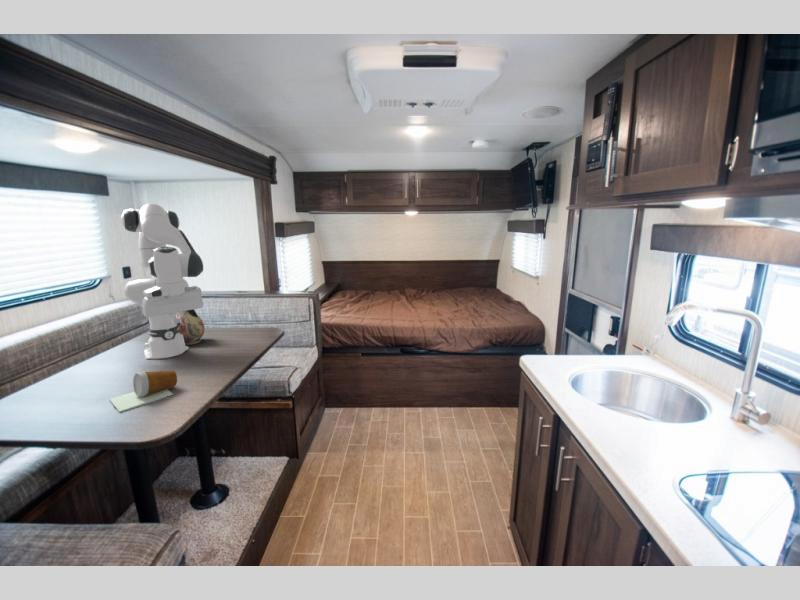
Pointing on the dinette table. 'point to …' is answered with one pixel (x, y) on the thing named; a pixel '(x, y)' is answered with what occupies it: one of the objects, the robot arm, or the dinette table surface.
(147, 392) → the disposable coffee cup
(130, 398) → the mat
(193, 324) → the ceramic jug
